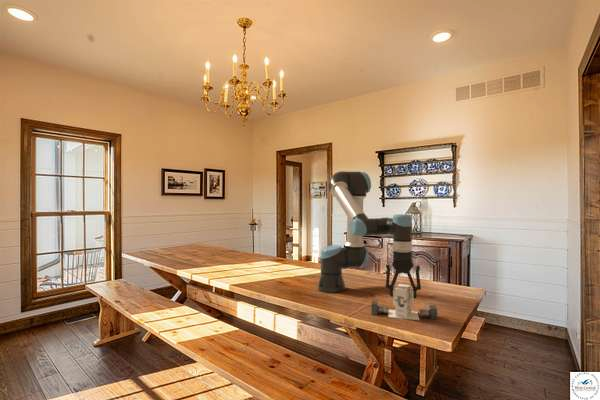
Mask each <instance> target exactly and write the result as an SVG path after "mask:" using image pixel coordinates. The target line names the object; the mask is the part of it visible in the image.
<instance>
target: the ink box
mask: <svg viewBox="0 0 600 400" xmlns="http://www.w3.org/2000/svg"><path fill="white" fill-rule="evenodd" d="M394 288H395V306H394V307H395V309H394V310H395V316H398V317H404V318H407V317H408V315H409V314H410V312H411V310H412V309H411V307H412V306H411V290H412V285H411V284H405V283H404V284H403V283H399V284H398V285H397V286H396V287H394Z"/></svg>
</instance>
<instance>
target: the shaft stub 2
mask: <svg viewBox="0 0 600 400" xmlns="http://www.w3.org/2000/svg"><path fill="white" fill-rule="evenodd" d="M428 306H429V308H428V309H423V308H419V309H418V310H419V311H418V312H419V313H418V316H419V318H420V317H421V318H430V320H431V321H432V320H434V321H438V308H437V305H435V304H429V305H428Z"/></svg>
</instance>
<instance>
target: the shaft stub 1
mask: <svg viewBox="0 0 600 400" xmlns="http://www.w3.org/2000/svg"><path fill="white" fill-rule="evenodd" d="M378 304H379V301H378V300H374V299H373V300H371V305H370V306H371V315H375V316H378V314H386V315H387V314H388V306H385V305H378Z"/></svg>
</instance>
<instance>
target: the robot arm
mask: <svg viewBox="0 0 600 400" xmlns="http://www.w3.org/2000/svg"><path fill="white" fill-rule="evenodd" d="M327 185H328V186H327V187H328V191H329V193H330V194H331V196H332V197H334V198H336V199H335V200H336V201H337V202H338V204H339V205H340V207H341V208H342V210H343V211H344V214H345V215H346V216H347V217H346V221H347V222H346V241H345V242H344V243H343V247H342V245H339V244H337V245H336V244H334V245H332V244H331V245H328V246H324V247H323V248H321V249H320V255H319V256H320V277H319V280H318V282H317V290H318V291H320V292H324V293H333V294H334V293H341V292H344V291H346V283H345V280H344V277H343V270H346V269H347V270H348V269H359V268H364V267H365V266H366V265H367V264H368V261H369V256H370V255H369V254H370V253H369V250H368V248H367V247H366V246H365V243H364V242H363V237H366V236H392V237H393V238H392V241H393V242H392V245H393V246H392V247H393V251H392V254H393V256H392V258H393V261H392V263H386V281H385V288H386V289H389V297H391V298H392V305H393V306H394V307H395V288H396V287H395V285H396V282H397V279H398V276H399V274H406V275H407V277H408V280H409V283H410V285H411V307H412V308H414V307H415V306H414V305H415V304H414V299H417V291H421V289H422V287H421V277H420V269H421V266H420V265H419V264H417V265H416V264H414V263H413V252H412V250H413V241H412V239H413V236H412V235H413V229H412V228H413V222H412V221H413V220H412V215H411V214H405V213H404V214H402V213H401V214H397V213H396V214H393V216H392V217H380V218H379V217H378V218H376V217H375V218H369V217H368V216H367V215H366V213H365V212H364V199H365V198H367V194H369V193H370V192H371V188H372V180H371V178H370V176H369V174H368V173H366V172H364V171H343V170H342V171H341V170H340V171H337V172H335V173H334V174H332V175H331V177H330V178H329V180H328V184H327ZM392 268H393V269H395V272H394V274H393V275H394V276H393V278H392V279H391V283H390V277H391V270H392ZM412 269H413V270H414V271H415V279H416V284H415V282H414V280H413V276H412V274H411V270H412Z"/></svg>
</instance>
